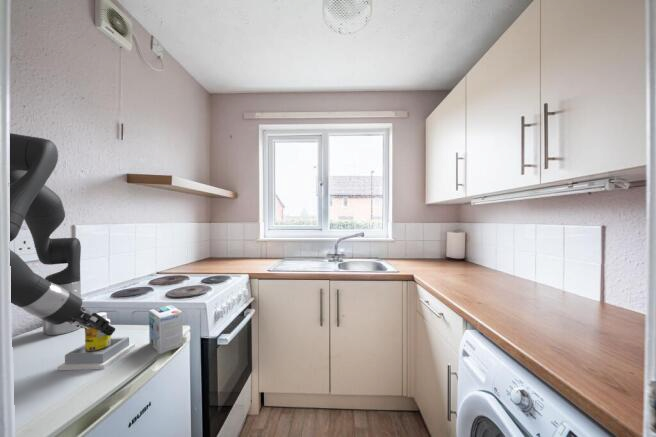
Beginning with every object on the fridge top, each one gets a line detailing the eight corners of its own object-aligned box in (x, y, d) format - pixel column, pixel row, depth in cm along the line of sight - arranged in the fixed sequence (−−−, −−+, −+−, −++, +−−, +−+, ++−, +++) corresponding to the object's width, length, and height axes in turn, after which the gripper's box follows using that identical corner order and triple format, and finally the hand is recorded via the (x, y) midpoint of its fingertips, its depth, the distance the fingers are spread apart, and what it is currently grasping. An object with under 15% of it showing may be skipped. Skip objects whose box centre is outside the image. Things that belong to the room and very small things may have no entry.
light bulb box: (148, 343, 86) (147, 309, 86) (172, 336, 91) (171, 304, 91) (159, 354, 79) (158, 317, 79) (184, 346, 84) (183, 311, 84)
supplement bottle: (81, 352, 77) (81, 316, 77) (105, 343, 81) (105, 310, 81) (90, 356, 74) (89, 319, 74) (114, 348, 79) (113, 313, 79)
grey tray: (57, 370, 72) (57, 357, 72) (95, 348, 84) (94, 336, 84) (104, 368, 72) (103, 355, 72) (134, 346, 84) (134, 335, 84)
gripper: (83, 291, 68) (131, 321, 80) (47, 287, 73) (98, 316, 84) (57, 320, 63) (112, 347, 75) (20, 314, 68) (78, 341, 79)
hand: (104, 331), depth 79 cm, fingers closed on supplement bottle, 5 cm apart
